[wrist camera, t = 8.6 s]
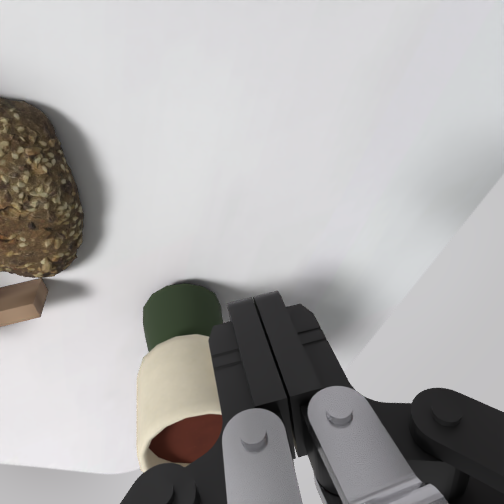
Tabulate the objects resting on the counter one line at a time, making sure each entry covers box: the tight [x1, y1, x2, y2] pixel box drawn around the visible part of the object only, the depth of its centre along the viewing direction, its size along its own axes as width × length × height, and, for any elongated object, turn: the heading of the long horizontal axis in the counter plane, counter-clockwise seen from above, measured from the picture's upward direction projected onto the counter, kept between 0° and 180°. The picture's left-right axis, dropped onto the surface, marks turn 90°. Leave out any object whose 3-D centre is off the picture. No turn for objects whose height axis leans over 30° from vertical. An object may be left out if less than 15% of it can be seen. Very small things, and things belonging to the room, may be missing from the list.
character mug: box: [137, 283, 223, 473], centre depth 29 cm, size 11×7×13 cm, turn 145°
